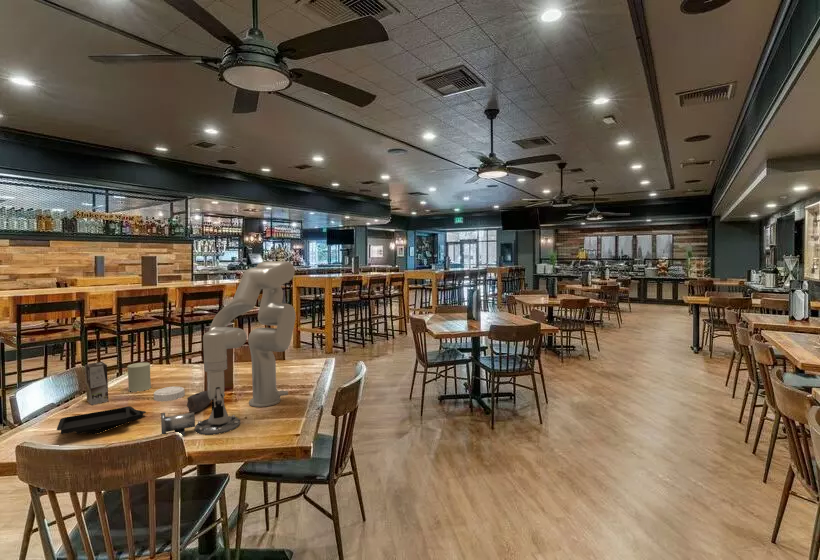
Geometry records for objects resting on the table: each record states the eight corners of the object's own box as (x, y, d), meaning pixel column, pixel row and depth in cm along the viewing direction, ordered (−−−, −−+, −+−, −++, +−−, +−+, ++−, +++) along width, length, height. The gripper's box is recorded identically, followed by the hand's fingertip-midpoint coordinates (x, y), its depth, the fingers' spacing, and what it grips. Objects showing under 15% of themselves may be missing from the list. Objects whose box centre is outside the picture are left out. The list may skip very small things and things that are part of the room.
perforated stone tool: (206, 402, 183) (205, 386, 183) (217, 402, 183) (217, 386, 182) (182, 415, 169) (182, 397, 168) (195, 415, 168) (194, 398, 167)
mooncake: (157, 394, 195) (157, 387, 195) (187, 392, 199) (186, 384, 198) (150, 403, 183) (150, 395, 183) (182, 400, 187) (181, 392, 187)
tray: (113, 411, 174) (112, 398, 174) (163, 415, 169) (162, 402, 169) (35, 443, 145) (34, 428, 144) (93, 448, 140) (92, 433, 140)
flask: (233, 420, 160) (234, 393, 160) (220, 426, 152) (222, 397, 153) (215, 418, 161) (217, 391, 161) (202, 424, 154) (204, 395, 154)
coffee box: (109, 401, 186) (107, 364, 185) (91, 405, 181) (89, 367, 180) (104, 397, 192) (102, 361, 191) (86, 400, 187) (84, 364, 186)
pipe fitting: (237, 415, 167) (236, 395, 166) (243, 429, 154) (242, 406, 153) (162, 429, 154) (161, 407, 154) (162, 445, 141) (160, 420, 141)
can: (123, 390, 201) (122, 365, 200) (142, 385, 209) (141, 360, 209) (137, 392, 197) (136, 367, 197) (155, 387, 206) (154, 362, 205)
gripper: (202, 361, 161) (204, 409, 162) (206, 372, 146) (208, 424, 147) (224, 359, 165) (225, 405, 166) (230, 369, 150) (231, 420, 151)
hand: (217, 413), depth 156 cm, fingers open, 6 cm apart
